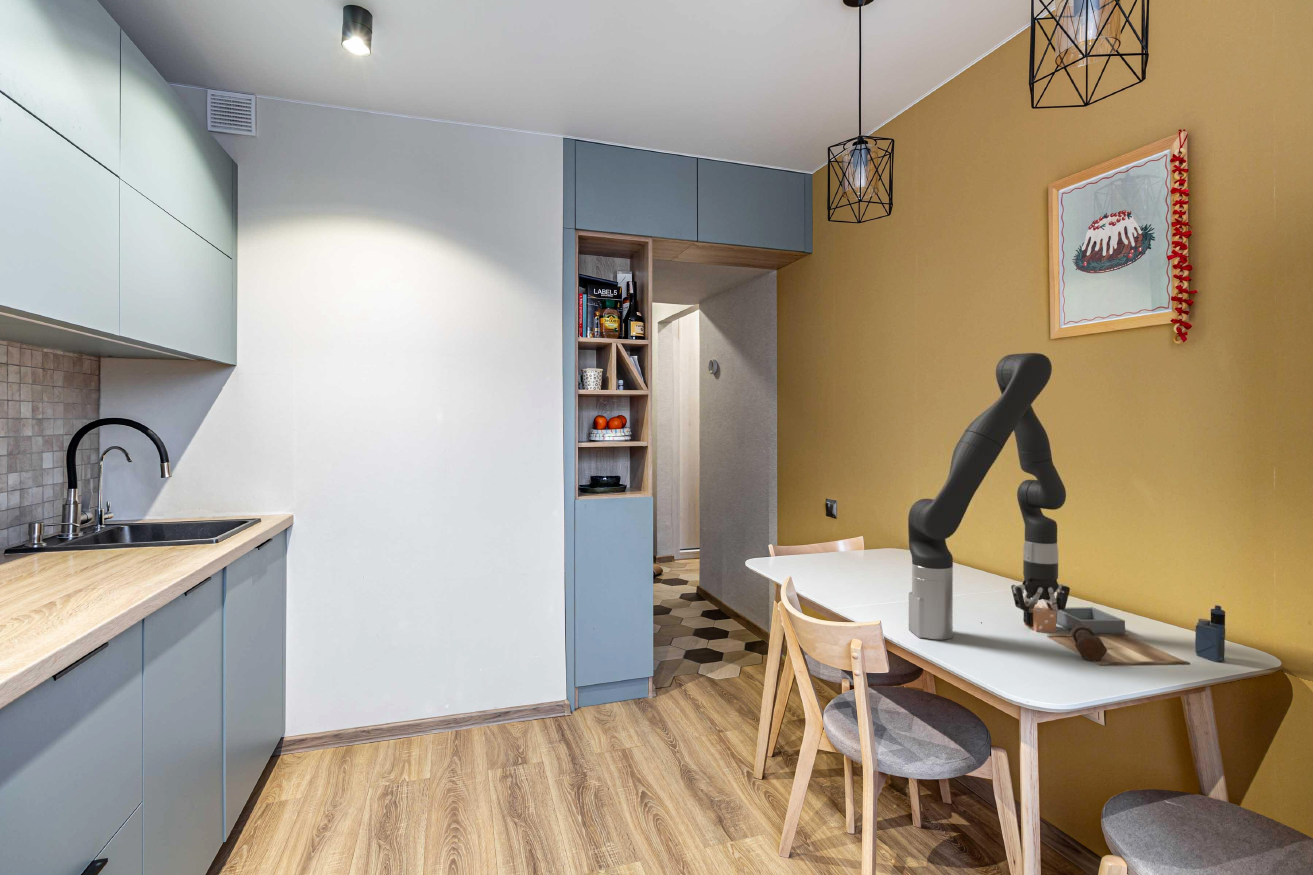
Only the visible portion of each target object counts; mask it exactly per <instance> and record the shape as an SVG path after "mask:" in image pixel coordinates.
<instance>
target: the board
mask: <svg viewBox="0 0 1313 875" xmlns="http://www.w3.org/2000/svg"><path fill="white" fill-rule="evenodd" d="M1095 636H1098V637H1099V638H1100V640H1101V641H1102V643H1103V644H1104V646H1105V647H1106V649H1107V652H1106V654H1105V655H1104V656H1103V658H1102V659H1101V660H1100V661H1093V660H1090V661H1091V662H1093V663H1094V664H1097V665H1099V666H1140V665H1141V666H1143V665H1144V666H1146V665H1147V666H1152V665H1156V666H1157V665H1161V666H1162V665H1190V664H1191V663H1190V661H1187V660H1183V659H1181V658H1178V657H1177V656H1174V655H1172V654H1170V653H1168V652H1165V651H1163V650H1161V649H1158V648H1156V647H1154V646H1152V645H1149V644H1147V643H1145V642H1142V641H1140V640H1139V639H1137V638H1136V639H1135V638H1133V637H1132V636H1129V634H1126V633H1125V634H1101V635H1095ZM1046 637H1047V638H1048V639H1049V640H1052V641H1054V642H1056V643H1058V644H1060V645H1062V646H1064V647H1065V648H1067V649H1069V650H1071V651H1072V652H1074V653H1075V654H1079V655H1080V656H1081V654H1080V653H1079V651H1078V650H1077V648H1076V646H1075V644H1076V642H1075V640H1074V639H1073V637H1072V636H1071V634H1047V635H1046Z"/></svg>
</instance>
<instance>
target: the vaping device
mask: <svg viewBox="0 0 1313 875" xmlns="http://www.w3.org/2000/svg"><path fill="white" fill-rule="evenodd" d="M1225 641H1226V611H1225V610H1223V609H1222V606H1221V605H1219V604H1218V605H1217V604H1215V605H1214V608H1210V620H1209V619H1207V618H1198V622H1197V623H1196V625H1195V641H1194V642H1195V647H1194V648H1195V650H1194V651H1195V653H1196V656H1197V657H1200V658H1202V657H1203V658H1202V659H1205V658H1206V660H1208V661H1212V660H1213V661H1212V662H1216V661H1217V662H1216V663H1223V662H1225V655H1226V654H1225V653H1226V652H1225V643H1226V642H1225ZM1222 661H1223V662H1222Z"/></svg>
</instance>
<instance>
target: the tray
mask: <svg viewBox="0 0 1313 875" xmlns="http://www.w3.org/2000/svg"><path fill="white" fill-rule="evenodd" d="M1076 624H1080V625H1085V626H1089V627H1090V628H1091V630H1092V631H1093V633H1094V634H1095V635H1101V634H1126V620H1125V619H1122V618H1120V617H1118V616H1115V615H1113V614H1110V613H1108V612H1105V611H1103V610H1100V609H1097V608H1096V607H1093V606H1081V607H1080V606H1077V607H1072V606H1071V607H1067V606H1066V607H1065V609H1064V610H1062V609H1061V610H1059V611H1058V612H1057V623H1056V625H1059V626H1061V627H1062V628H1064V629H1067V630H1069V631H1070V632H1071V631H1072V628H1073V627H1074V625H1076Z"/></svg>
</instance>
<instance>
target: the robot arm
mask: <svg viewBox="0 0 1313 875" xmlns="http://www.w3.org/2000/svg"><path fill="white" fill-rule="evenodd" d="M1052 366H1053V365H1052V362H1051V359H1050V358H1049V357H1048V356H1047V355H1045V354H1043V353H1039V352H1026V353H1024V352H1023V353H1012V354H1007V355H1005V356H1003V357H1001V359H1000V360H998V362H997V364H996V369H995V377H996V382H997V384H998V388H999V391H1000V394H1001V395H1000V397H999V398H998V399H997V400H995V402H993V404H991V405H990V406H989V407H988V408H987V409H985V410H984V411H983V412H982V413H981V414H980V415H978V416H977V417H976V418H975V419H974V420H973V421H972V422H970V423H969V425H968V426H967V427H966V429H965V430H964V431H963V433H962V434H961V437H960V438H959V440H958V442H957V443H956V445H955V447H954V450H953V453H952V456H951V461H950V468H949V472H948V473H949V474H948V476H947V479H946V480H945V483H944V485H943V486H942V488H941V489H940V491H939V492H938V494H937V495H936V497H935V498H933V499H932V498H921V499H919V500H916V501H915V502H914V503H913V504H912V505H911V507H910V509H909V512H908V518H907V520H908V522H907V523H908V524H907V529H908V532H907V533H908V547H909V552H910V555H911V591H910V592H909V593H908V631H910V632H911V633H913V634H914V635H915V636H916V637H918V638H921V639H923V638H924V639H930V640H942V641H943V640H948V639H951V638H952V637H953V632H954V630H953V629H954V627H953V619H954V617H953V614H954V612H953V610H954V609H953V608H954V607H953V606H954V605H953V604H954V601H953V600H954V598H953V597H954V596H953V595H954V594H953V592H954V590H953V589H954V586H953V585H954V583H953V582H954V580H953V579H954V557H953V554H952V552H951V551H950V550H949V548H948V546H947V541H946V540H947V539H948V538H950V537H951V536H953V535H954V533H956V531H957V530H958V529H959V527H960V524H961V522H962V520H963V518H964V517H965V514H966V512H967V510H968V508H969V505H970V503H971V501H972V499H973V498H974V495H975V494H976V492H977V491H978V489H979V487H980V485H981V484H982V482H983V481H984V479H985V477H986V476H987V474H988V472H989V470H990V469H991V467H992V466H993V465H994V464H995V462H996V460H997V459H998V457H999V456H1000V454H1001V452H1002V450H1003V449H1004V448H1005V445H1006V443H1007V442H1008V440H1009V438H1010V437H1011V435H1012V433H1013V432H1014V437H1015V443H1016V448H1017V453H1018V454H1017V455H1018V459H1019V466H1020V469H1021V470H1022V471H1023V472H1024V473H1026V474H1029V475H1032V476H1034V477H1035V478H1036V479H1025V480H1023V481H1022V482H1021V483H1020V484H1019V486H1018V489H1017V493H1016V496H1017V498H1016V499H1017V502H1018V507H1019V509H1020V514H1021V516H1022V519H1023V520H1022V521H1023V524H1024V543H1023V551H1022V553H1023V554H1022V555H1023V556H1022V558H1023V559H1022V560H1023V562H1022V563H1023V566H1022V568H1023V570H1022V573H1023V575H1022V576H1023V582H1022V584H1018V585H1015V584H1012V585H1011V586H1010V589H1011V592H1012V597H1013V600H1014V606H1015V607H1016V608H1018V609H1020V610H1022V612H1023V620H1022V621H1023V624H1024V623H1025V624H1026V625H1027V626H1029V627H1033V613H1032V612H1033V609H1034V606H1037V605H1038V602H1039V601H1041V600H1043V601H1044V603H1045V604H1046V607H1047V608H1049V609H1051V610H1054V611H1056V623H1057V612H1058V611H1059V610H1061V609H1062V610H1064V609H1065V607H1067V602H1068V598H1069V594H1070V590H1071V588H1070V586H1068V585H1064V584H1062V583H1061V584H1059V583H1058V578H1059V548H1058V523H1057V521H1056V520H1054V519H1053V518H1050V517H1048V516H1046V515H1044V513H1043V511H1042V509H1043V510H1053V511H1055V510H1058V509H1061V508H1062V507H1063V506H1064V504H1065V502H1066V499H1067V492H1066V490H1067V489H1066V487H1065V485H1064V483H1063V481H1062V478H1061V476H1060V474H1059V472H1058V471H1057V468H1056V467H1055V464H1054V462H1053V457H1052V455H1053V454H1052V450H1051V442H1050V440H1049V436H1048V434H1047V431H1046V429H1045V428H1044V427H1045V426H1043V424H1042V423H1041V421H1040V419H1039V418H1038V416H1037V414H1036V412H1035V411H1034V408H1033V406H1032V405H1033V403H1034V401H1035V400H1036V399H1037V398H1038V396H1039V395H1040V394H1041V392H1042V391H1043V390H1044V389H1045V387H1046V386H1047V385H1048V383H1049V381H1050V379H1051V377H1052V372H1053V367H1052ZM1024 591H1025V592H1024ZM1024 593H1025V596H1024ZM1055 593H1056V596H1055Z"/></svg>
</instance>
